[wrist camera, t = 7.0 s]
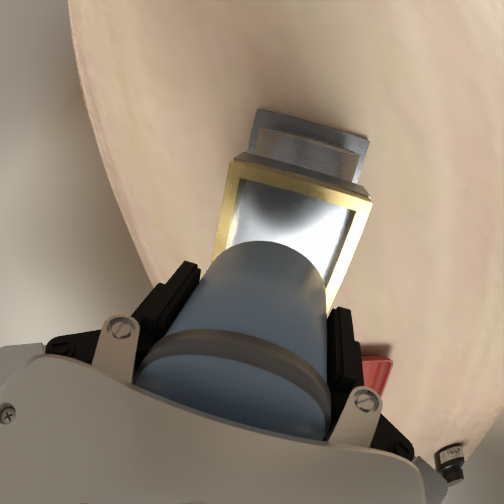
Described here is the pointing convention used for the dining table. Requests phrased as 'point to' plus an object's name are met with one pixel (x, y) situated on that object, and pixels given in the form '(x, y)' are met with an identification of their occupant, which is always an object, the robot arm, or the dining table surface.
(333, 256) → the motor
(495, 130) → the dining table surface
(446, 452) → the ink bottle
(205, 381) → the blue rounded cylinder
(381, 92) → the dining table surface
